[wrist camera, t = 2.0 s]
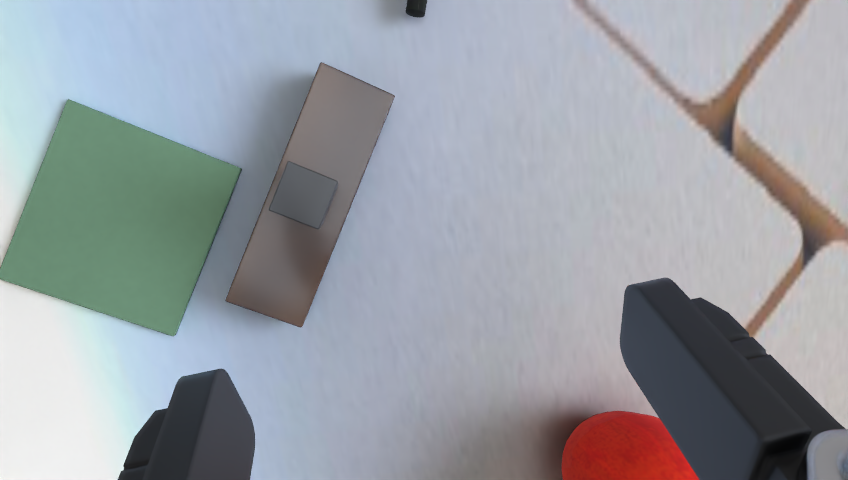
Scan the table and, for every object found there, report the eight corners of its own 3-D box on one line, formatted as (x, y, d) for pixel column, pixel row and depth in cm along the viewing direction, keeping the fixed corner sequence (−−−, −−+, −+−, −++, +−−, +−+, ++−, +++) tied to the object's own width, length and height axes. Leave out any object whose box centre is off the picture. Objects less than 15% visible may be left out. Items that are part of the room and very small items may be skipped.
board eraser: (234, 292, 34) (192, 329, 24) (322, 73, 34) (315, 21, 24) (304, 317, 35) (291, 362, 25) (390, 104, 35) (410, 65, 25)
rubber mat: (0, 277, 32) (-4, 278, 31) (70, 100, 31) (67, 98, 31) (175, 335, 34) (173, 336, 33) (242, 168, 33) (240, 168, 33)
